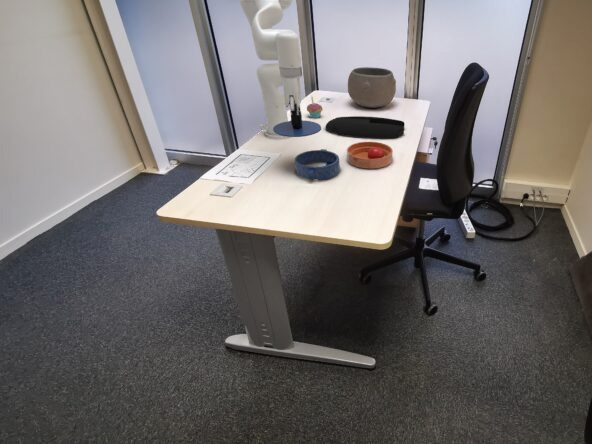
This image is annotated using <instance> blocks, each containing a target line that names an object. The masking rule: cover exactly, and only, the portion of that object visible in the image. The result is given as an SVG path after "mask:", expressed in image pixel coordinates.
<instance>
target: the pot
mask: <svg viewBox="0 0 592 444" xmlns="http://www.w3.org/2000/svg"><path fill="white" fill-rule="evenodd" d="M312 163H325V164H324V165H322V166H309V165H308V164H312ZM294 164H295V172H296V175H298V176H299V177H301V178H302V179H306V180H315V181H316V180H317V182H318V181H319V182H320V181H327V180H330V179H333V178H335V177H336V176H338V175H339V174H340V170H341V166H340V165H341V164H340V155H338V154H336V153H335V152H333V151H330V150H327V149H325V148H320V149H315V150H314V149H313V150H312V149H311V150H307V151H303V152H300V153H299V154H296V155H295V158H294Z"/></svg>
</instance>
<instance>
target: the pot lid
mask: <svg viewBox="0 0 592 444" xmlns="http://www.w3.org/2000/svg"><path fill="white" fill-rule="evenodd" d="M298 112H299V115H300V123H301V125H300V126H292V123H291V120H288V121H287V122H283V123H279V124H277V125H276V126H274V128H273V131H274V132H275V133H276V134H278V135H281V136H287V137H286V138H303V137H308V136H313V135H316V134H318V133H319V132H321V131H322V126H321V124H319V123H317V122H315V121H311V120H303V119H302V120H301V116H302V111H301V112H300V111H298Z"/></svg>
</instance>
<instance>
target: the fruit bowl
mask: <svg viewBox="0 0 592 444" xmlns="http://www.w3.org/2000/svg"><path fill="white" fill-rule="evenodd" d="M372 147H379V148H381V149H382V151H383V153H384V157H382V158H377V159H368V151H369V150H370V149H371V148H372ZM393 153H394V151H393V148H392V147H391V146H390V145H388V144H385V143H383V142H378V141H359V142H355V143H353V144H351V145H349V146H347V149H346V159H347V162H348V163H349V164H350V165H352V166H355V167H357V168H362V169H379V168H384V167H387V166H388V165H390V164H391V163H392V162H393V155H394V154H393Z"/></svg>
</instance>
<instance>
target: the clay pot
mask: <svg viewBox="0 0 592 444" xmlns="http://www.w3.org/2000/svg"><path fill="white" fill-rule="evenodd" d="M396 84H397V80H396V78H395V76H394V73H393V71H392V70H390V69H387V68H382V67H371V66H370V67H368V66H364V67H363V66H362V67H356V68H353V69H352V70H351V71H350V73H349V75H348V78H347V93H348V95H349V98H350V99H351V100H352V101H353V102H354V103H355V104H357V105H359V106H360V107H364V108H368V109H369V108H370V109H377V108H383V107H385V106H387V105H388V104H391V102H392V101H393V99H394V97H395V95H396V91H397V85H396Z"/></svg>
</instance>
